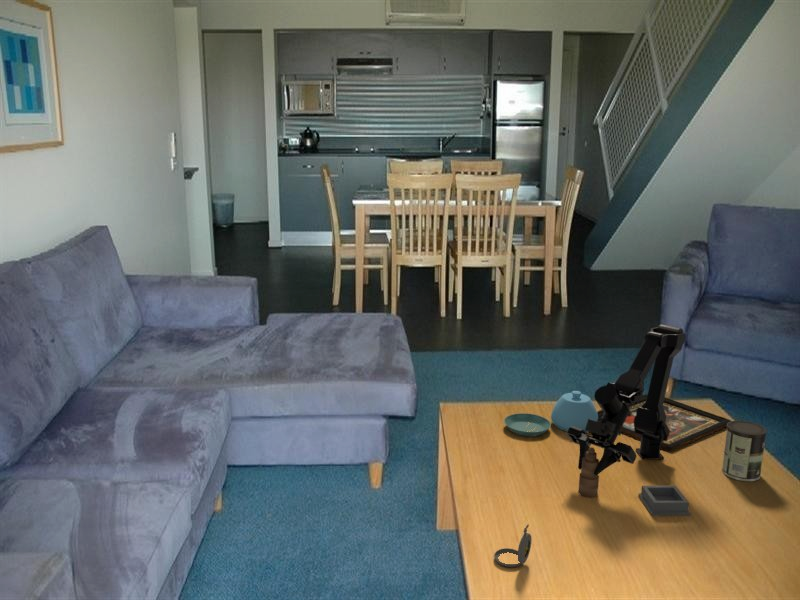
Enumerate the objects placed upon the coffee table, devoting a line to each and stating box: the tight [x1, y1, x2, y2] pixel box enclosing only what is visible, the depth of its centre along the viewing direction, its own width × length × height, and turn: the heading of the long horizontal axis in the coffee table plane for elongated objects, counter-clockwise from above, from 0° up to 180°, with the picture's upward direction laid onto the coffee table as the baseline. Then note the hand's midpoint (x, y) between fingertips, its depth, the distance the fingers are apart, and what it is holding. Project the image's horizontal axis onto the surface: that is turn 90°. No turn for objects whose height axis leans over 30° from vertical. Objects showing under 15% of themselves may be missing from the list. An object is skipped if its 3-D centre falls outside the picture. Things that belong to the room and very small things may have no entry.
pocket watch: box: [493, 524, 532, 568], centre depth 174 cm, size 8×8×10 cm
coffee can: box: [721, 420, 768, 482], centre depth 218 cm, size 10×10×14 cm
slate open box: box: [637, 485, 692, 517], centre depth 201 cm, size 10×10×3 cm
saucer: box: [503, 412, 552, 437], centre depth 247 cm, size 15×15×3 cm
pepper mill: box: [577, 446, 600, 498], centre depth 205 cm, size 5×5×13 cm
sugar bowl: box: [550, 390, 598, 433], centre depth 250 cm, size 15×15×12 cm
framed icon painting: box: [597, 393, 732, 453], centre depth 254 cm, size 38×35×3 cm
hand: (586, 471), depth 204 cm, fingers closed on pepper mill, 4 cm apart
